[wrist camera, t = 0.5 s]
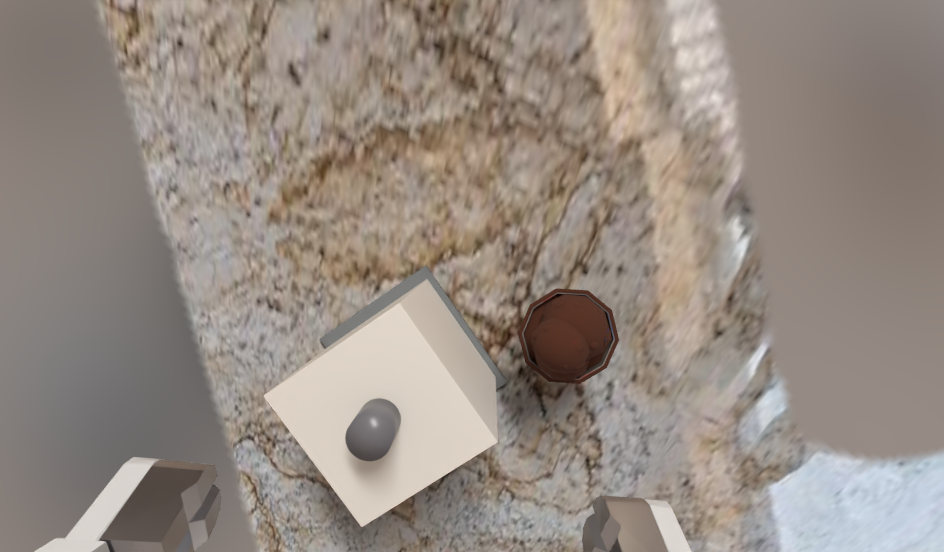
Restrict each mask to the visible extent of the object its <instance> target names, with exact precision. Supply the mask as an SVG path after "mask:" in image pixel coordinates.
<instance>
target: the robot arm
mask: <svg viewBox="0 0 944 552" xmlns="http://www.w3.org/2000/svg"><path fill="white" fill-rule="evenodd" d="M216 477H217V471H216V467H215V465H211V464H201V463H191V462H180V461H171V460H162V459H151V458H139V457H133V458H132V459H130V460H129V461H128V462H126V463H125V464H124V465H123V466H122V467H121V468H120V469H119V471H118V472H117V473H116V475H115V476H114V477H113V478H112V480H111V481H110V482H109V483H108V485H107V486H106V487H105V489H104V490H103V491H102V492H101V493H100V495H99V496H98V497H97V499H96V500H95V501H94V502H93V504H92V505H91V506H90V508H89V509H88V510H87V511H86V512H85V514H84V515H83V516H82V518H81V519H80V520H79V521H78V523H77V524H76V525H75V526H74V528H73V529H72V530H71V531H70V533H69V534H68V535H67V537H66V538H55V539H54V540H52V541H51V542H49V543H47V544H46V545H44V546H43V547H41V548H39V549H38V550H36V551H34V552H194V550H195V549H196V548H197V547H198V546H200V545H201V544H203V543H204V542H205V541H206V540H208V539H209V536H210V534H211V532H212V530H213V528H214V526H215V524H216V521H217V517H218V514H219V511H220V505H221V493H220V489H218V488H217V487H216V486H215V485H214V484H213V483H214V481H215V479H216ZM593 508H594V512H595V513H594V514H593V515H591V516H589V517H588V518H587V519H586V522H585V524H584V527H583V537H582V543H583V552H691V550H690V547H689V545H688V543H687V541H686V539H685V537H684V534H683V532H682V530H681V528H680V526H679V524H678V521H677V519H676V517H675V515H674V513H673V510H672V508H671V506H670V505H669V504H668V503H667V502H666V501H662V500H648V499H641V498H630V497H614V496H599V497H597V498H596V499H595V502H594V504H593Z"/></svg>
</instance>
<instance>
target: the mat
mask: <svg viewBox="0 0 944 552" xmlns="http://www.w3.org/2000/svg"><path fill="white" fill-rule="evenodd" d="M426 279H428V281H429V282H430V284H431V285H432V286H433V288H434V289H435V291H436V292H437V294H438V295H439V297H440V298H441V299H442V301H443V302H444V304H445V305H446V307H447V308H448V309H449V311H450V312H451V314H452V315H453V317H454V318H455V319H456V321H457V322H458V324H459V325H460V327H461V328H462V329H463V331H464V332H465V334H466V335H467V337H468V338H469V339H470V341H471V342H472V344H473V345H474V347H475V348H476V350H477V351H478V352H479V354H480V355H481V357H482V358H483V360H484V361H485V362H486V364H487V365H488V367H489V368H490V370H491V371H492V372H493V374H494V375H495V377H496V389H498V388H499V387H501V386H503V385H504V384H506V383H507V381H506V379H505V378H504V377H503V375H502V374H501V372H500V371H499V369H498V368H497V367H496V365H495V364H494V362H493V361H492V359H491V358H490V356H489V355H488V354H487V352H486V351H485V349H484V348H483V346H482V345H481V344H480V342H479V341H478V339H477V338H476V336H475V335H474V333H473V332H472V331H471V329H470V328H469V326H468V325H467V323H466V322H465V321H464V319H463V318H462V316H461V315H460V313H459V312H458V310H457V309H456V308H455V306H454V305H453V303H452V302H451V300H450V299H449V298H448V296H447V295H446V293H445V292H444V290H443V289H442V288H441V286H440V285H439V283H438V282H437V280H436V279H435V277H434V276H433V275H432V273H431V272H430V270H429V269H428V267H427V266H425V267H423V268H422V269H421V270H419V271H418V272H416V273H415V274H413V275H412V276H410V277H409V278H408V279H406V280H405V281H403V282H402V283H400V284H399V285H397V286H396V287H394V288H393V289H392V290H390V291H389V292H387V293H386V294H384V295H383V296H381V297H380V298H379V299H377V300H376V301H374V302H373V303H371V304H370V305H368V306H367V307H365V308H364V309H363V310H361V311H360V312H358V313H357V314H355V315H354V316H352V317H351V318H349V319H348V320H347V321H345V322H344V323H342V324H341V325H339V326H338V327H336V328H335V329H334V330H332V331H331V332H329V333H328V334H326V335H325V336H323V337H322V338H320V341H321V342H322V343H323V345H324V346H325V347H326V348H327V347H329V346H330V345H331V344H333V343H334V342H336V341H337V340H339V339H340V338H342V337H343V336H345V335H346V334H347V333H349V332H350V331H352V330H353V329H355V328H356V327H358V326H359V325H361V324H362V323H364V322H365V321H366V320H368V319H369V318H371V317H372V316H374V315H375V314H377V313H378V312H380V311H381V310H382V309H384V308H385V307H387V306H388V305H390V304H391V303H393V302H394V301H396V300H397V299H399V298H400V297H401V296H403V295H404V294H406V293H407V292H409V291H410V290H412V289H413V288H415V287H416V286H418V285H419V284H420V283H422V282H423V281H425V280H426Z"/></svg>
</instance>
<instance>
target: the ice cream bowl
mask: <svg viewBox="0 0 944 552" xmlns="http://www.w3.org/2000/svg"><path fill="white" fill-rule="evenodd" d="M518 335H519V339H520V342H521V346H522V350H523V354H524V358H525V362H526V363H527V364H528V365H529V366H531V367H532V368H533V369H534V370H536V371H537V372H538V373H539V374H540V375H542V376H543V377H544V378H545V379H547V380H548V381H549V382H563V383H578V384H580V383H582V382H584V381H585V380H587V379H589V378H590V377H592V376H594V375H595V374H597V373H599V372H600V371H602V370H604V369H606V368H607V366H608V363H609V361H610V359H611V357H612V354H613V352H614V350H615V348H616V345H617V343H618V341H619V338H618V334H617V330H616V325H615V321H614V317H613V313H612V310H611V309H610V308H609V307H607V306H606V305H605V304H604V303H602V302H601V301H600V300H599V299H598V298H596V297H595V296H594V295H593V294H592V293H590V292H589V291H587V290H570V289H555V290H553V291H551V292H550V293H548V294H547V295H545V296H543V297H542V298H540V299H539V300H537V301H535V302H534V303H532V304H531V305H530V306H529V308H528V311H527V313H526V316H525V318H524V321H523V323H522V325H521V328H520V330H519V333H518Z"/></svg>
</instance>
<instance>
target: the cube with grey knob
mask: <svg viewBox="0 0 944 552" xmlns="http://www.w3.org/2000/svg"><path fill="white" fill-rule="evenodd" d="M264 397H265V399H266V400H267V401H268V403H269V404H270V405H271V407H272V408H273V409H274V411H275V412H276V413H277V415H278V416H279V417H280V419H281V420H282V421H283V423H284V424H285V425H286V427H287V428H288V429H289V431H290V432H291V433H292V435H293V436H294V437H295V439H296V440H297V441H298V443H299V444H300V445H301V447H302V448H303V449H304V451H305V452H306V453H307V455H308V456H309V457H310V459H311V460H312V461H313V463H314V464H315V465H316V467H317V468H318V469H319V471H320V472H321V473H322V475H323V476H324V477H325V479H326V480H327V481H328V483H329V484H330V485H331V487H332V488H333V489H334V491H335V492H336V493H337V495H338V496H339V498H340V499H341V500H342V502H343V503H344V504H345V506H346V507H347V508H348V510H349V511H350V512H351V514H352V515H353V516H354V518H355V519H356V520H357V522H358V523H359V524H360V526H361V527H363V526H365V525H366V524H368V523H369V522H371V521H373V520H374V519H376V518H377V517H379V516H381V515H382V514H384V513H385V512H387V511H389V510H390V509H392V508H393V507H395V506H397V505H398V504H400V503H401V502H403V501H404V500H406V499H408V498H409V497H411V496H412V495H414V494H416V493H417V492H419V491H420V490H422V489H424V488H425V487H427V486H428V485H430V484H432V483H433V482H435V481H436V480H438V479H440V478H441V477H443V476H444V475H446V474H447V473H449V472H451V471H452V470H454V469H455V468H457V467H459V466H460V465H462V464H463V463H465V462H467V461H468V460H470V459H471V458H473V457H475V456H476V455H478V454H479V453H481V452H483V451H484V450H486V449H487V448H489V447H491V446H492V445H494V444H495V443H497V442H498V433H497V403H496V377H495V375H494V374H493V372H492V371H491V370H490V368H489V367H488V365H487V364H486V362H485V361H484V360H483V358H482V357H481V355H480V354H479V352H478V351H477V350H476V348H475V347H474V345H473V344H472V342H471V341H470V339H469V338H468V337H467V335H466V334H465V332H464V331H463V329H462V328H461V327H460V325H459V324H458V322H457V321H456V319H455V318H454V317H453V315H452V314H451V312H450V311H449V309H448V308H447V307H446V305H445V304H444V302H443V301H442V299H441V298H440V297H439V295H438V294H437V292H436V291H435V289H434V288H433V286H432V285H431V284H430V282H429V281H428V279H426V280H425V281H423V282H422V283H420V284H419V285H418V286H416V287H415V288H413V289H412V290H410V291H409V292H407V293H406V294H404V295H403V296H401V297H400V298H399V299H397V300H396V301H394V302H393V303H391V304H390V305H388V306H387V307H385V308H384V309H382V310H381V311H380V312H378V313H377V314H375V315H374V316H372V317H371V318H369V319H368V320H366V321H365V322H364V323H362V324H361V325H359V326H358V327H356V328H355V329H353V330H352V331H350V332H349V333H347V334H346V335H345V336H343V337H342V338H340V339H339V340H337V341H336V342H334V343H333V344H331V345H330V346H329V347H327V348H326V349H325V350H323V351H322V352H321V353H319V354H318V355H317V356H315V357H314V358H313V359H312V360H310V361H309V362H308V363H306V364H305V365H304V366H302V367H301V368H300V369H298V370H297V371H296V372H294V373H293V374H292V375H290V376H289V377H288V378H286V379H285V380H284V381H282V382H281V383H280V384H278V385H277V386H276V387H274V388H273V389H272V390H270V391H269V392H268V393H266V394H265V395H264Z"/></svg>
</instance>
